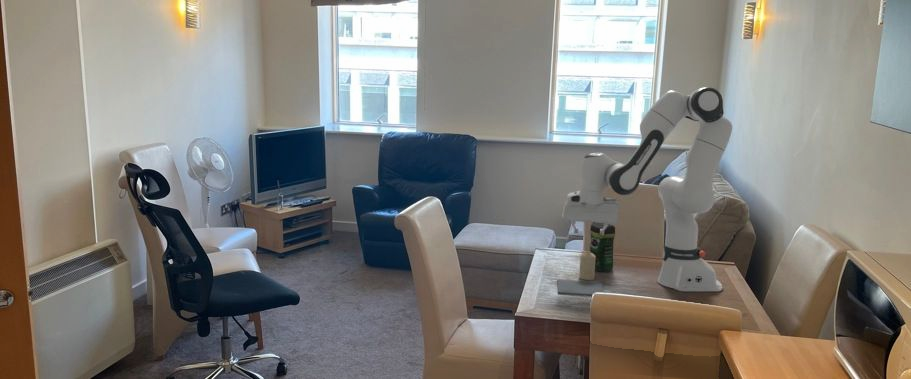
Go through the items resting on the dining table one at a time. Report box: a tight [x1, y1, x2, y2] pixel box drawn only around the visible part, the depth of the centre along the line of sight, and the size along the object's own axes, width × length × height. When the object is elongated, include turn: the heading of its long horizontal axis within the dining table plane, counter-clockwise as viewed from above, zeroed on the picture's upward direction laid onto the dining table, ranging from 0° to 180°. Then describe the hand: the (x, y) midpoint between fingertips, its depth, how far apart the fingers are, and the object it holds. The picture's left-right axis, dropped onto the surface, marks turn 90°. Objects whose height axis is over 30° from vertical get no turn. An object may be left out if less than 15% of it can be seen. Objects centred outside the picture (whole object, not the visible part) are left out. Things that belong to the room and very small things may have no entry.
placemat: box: [556, 279, 605, 297], centre depth 248 cm, size 16×14×1 cm
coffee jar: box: [589, 222, 616, 273], centre depth 270 cm, size 10×8×19 cm
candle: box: [579, 251, 596, 281], centre depth 259 cm, size 6×6×10 cm
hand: (588, 233), depth 257 cm, fingers open, 8 cm apart
